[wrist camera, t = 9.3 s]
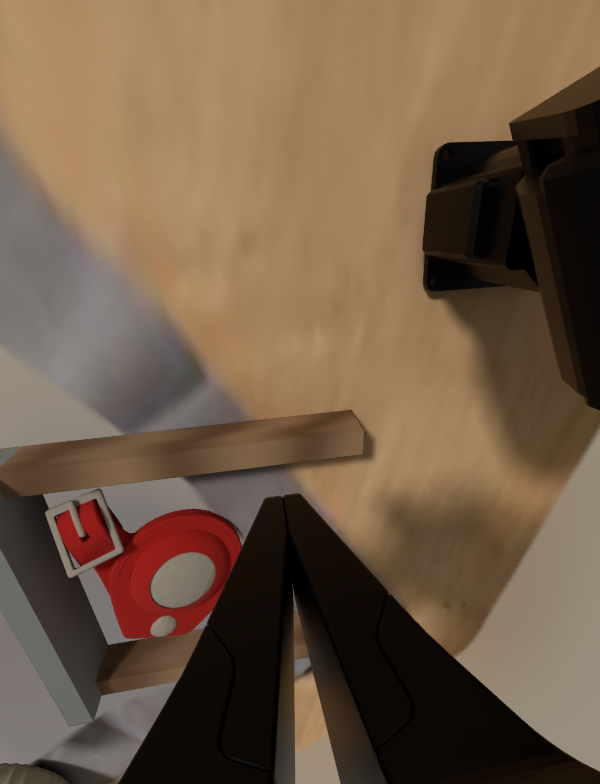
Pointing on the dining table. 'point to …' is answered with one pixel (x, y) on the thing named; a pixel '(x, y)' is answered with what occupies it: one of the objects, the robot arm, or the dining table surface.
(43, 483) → the walnut channel
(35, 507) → the end stop
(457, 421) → the dining table surface
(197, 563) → the tracker holder
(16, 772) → the canister
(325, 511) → the dining table surface
